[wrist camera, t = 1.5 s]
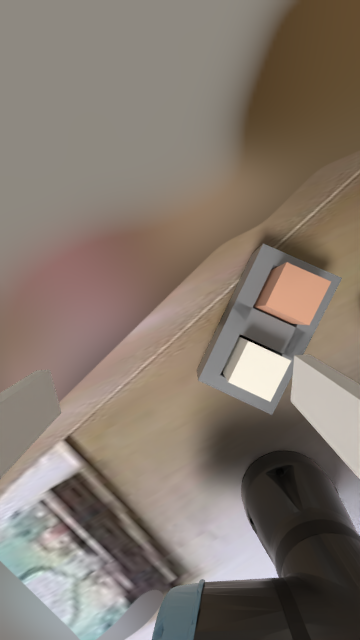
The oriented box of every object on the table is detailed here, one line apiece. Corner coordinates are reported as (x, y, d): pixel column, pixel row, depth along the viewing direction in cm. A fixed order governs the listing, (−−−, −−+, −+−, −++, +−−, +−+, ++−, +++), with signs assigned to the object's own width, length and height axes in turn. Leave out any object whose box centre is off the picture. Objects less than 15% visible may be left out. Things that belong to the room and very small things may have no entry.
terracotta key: (304, 287, 26) (331, 281, 21) (286, 323, 27) (309, 325, 22) (268, 271, 27) (286, 262, 22) (251, 307, 27) (265, 305, 22)
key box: (318, 283, 29) (341, 278, 24) (259, 399, 30) (272, 415, 26) (251, 254, 29) (263, 243, 25) (196, 370, 30) (198, 380, 26)
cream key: (272, 351, 27) (291, 360, 22) (255, 385, 27) (270, 401, 22) (237, 335, 27) (248, 340, 22) (221, 369, 28) (228, 382, 23)
